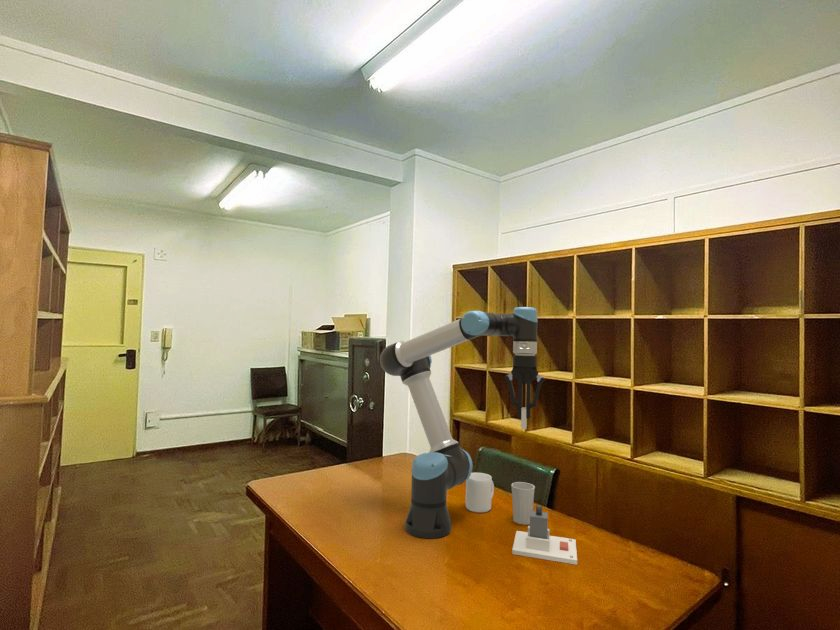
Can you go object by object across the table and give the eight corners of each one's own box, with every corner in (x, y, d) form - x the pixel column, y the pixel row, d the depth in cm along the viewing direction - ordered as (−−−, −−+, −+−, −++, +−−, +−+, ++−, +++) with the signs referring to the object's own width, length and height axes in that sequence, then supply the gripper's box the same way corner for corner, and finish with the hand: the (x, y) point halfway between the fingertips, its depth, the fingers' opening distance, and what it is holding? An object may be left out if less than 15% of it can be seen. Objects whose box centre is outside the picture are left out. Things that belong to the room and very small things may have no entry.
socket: (512, 554, 131) (512, 539, 131) (516, 534, 145) (516, 521, 145) (577, 564, 126) (577, 549, 126) (575, 543, 139) (575, 529, 139)
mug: (460, 508, 166) (460, 476, 167) (478, 500, 175) (479, 469, 175) (481, 515, 160) (482, 482, 160) (499, 506, 168) (500, 475, 169)
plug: (529, 550, 134) (530, 508, 135) (530, 543, 139) (531, 502, 139) (546, 553, 132) (547, 510, 133) (547, 545, 137) (547, 504, 138)
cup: (534, 526, 151) (535, 490, 152) (510, 524, 153) (511, 488, 153) (533, 517, 159) (534, 483, 159) (510, 515, 160) (511, 481, 161)
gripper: (503, 354, 143) (502, 428, 142) (545, 355, 140) (544, 432, 138) (505, 353, 151) (504, 424, 149) (546, 355, 147) (545, 428, 146)
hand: (523, 428), depth 144 cm, fingers closed
